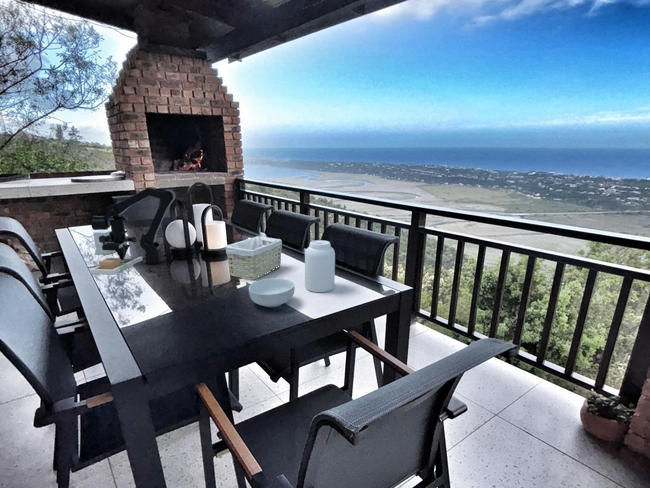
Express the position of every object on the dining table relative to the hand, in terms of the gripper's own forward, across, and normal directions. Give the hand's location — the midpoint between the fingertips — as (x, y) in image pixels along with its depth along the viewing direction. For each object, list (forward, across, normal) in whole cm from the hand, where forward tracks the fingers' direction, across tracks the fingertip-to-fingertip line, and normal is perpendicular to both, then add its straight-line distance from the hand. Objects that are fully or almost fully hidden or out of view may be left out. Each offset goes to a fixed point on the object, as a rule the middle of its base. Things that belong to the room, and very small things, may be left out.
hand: (122, 259), depth 168 cm
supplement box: (+3, -20, -22) cm, 30 cm away
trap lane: (+2, +3, 0) cm, 4 cm away
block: (+3, +8, 0) cm, 9 cm away
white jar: (+3, +25, +101) cm, 104 cm away
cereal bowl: (+3, +42, +84) cm, 94 cm away
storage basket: (+3, +6, +69) cm, 70 cm away
